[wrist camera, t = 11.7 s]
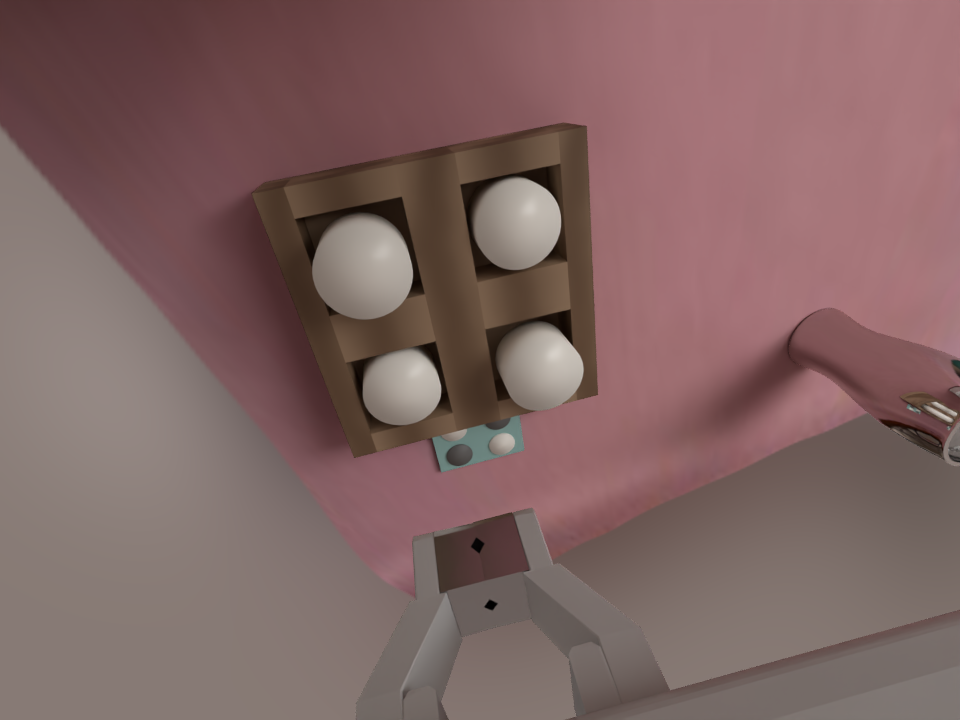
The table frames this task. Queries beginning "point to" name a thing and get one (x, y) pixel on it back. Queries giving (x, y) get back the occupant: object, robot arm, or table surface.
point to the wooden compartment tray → (441, 274)
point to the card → (479, 443)
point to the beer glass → (887, 378)
